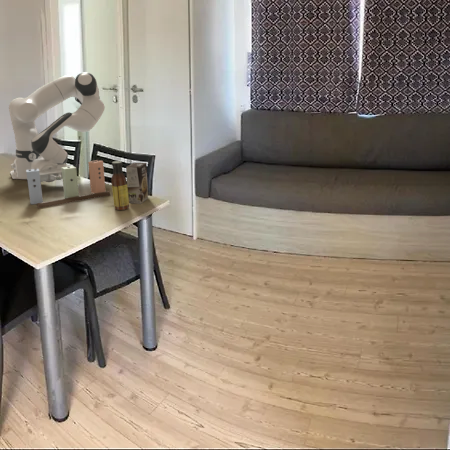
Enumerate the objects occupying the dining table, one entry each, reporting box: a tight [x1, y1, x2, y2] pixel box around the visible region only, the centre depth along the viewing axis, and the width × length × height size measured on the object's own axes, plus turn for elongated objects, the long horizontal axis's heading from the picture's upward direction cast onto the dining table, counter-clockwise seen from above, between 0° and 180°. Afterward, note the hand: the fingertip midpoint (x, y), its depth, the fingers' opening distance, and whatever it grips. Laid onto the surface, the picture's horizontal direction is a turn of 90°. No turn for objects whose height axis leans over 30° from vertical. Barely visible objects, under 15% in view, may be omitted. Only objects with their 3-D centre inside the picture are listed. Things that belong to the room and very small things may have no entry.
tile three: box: [87, 159, 106, 194], centre depth 247 cm, size 4×5×14 cm
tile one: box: [61, 165, 80, 199], centre depth 237 cm, size 4×5×14 cm
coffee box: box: [125, 162, 149, 205], centre depth 238 cm, size 9×6×16 cm
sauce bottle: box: [110, 160, 130, 211], centre depth 227 cm, size 6×6×20 cm
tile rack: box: [36, 190, 111, 209], centre depth 241 cm, size 14×35×3 cm, turn 126°
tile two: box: [26, 169, 44, 205], centre depth 232 cm, size 4×5×14 cm
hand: (58, 178), depth 246 cm, fingers closed
